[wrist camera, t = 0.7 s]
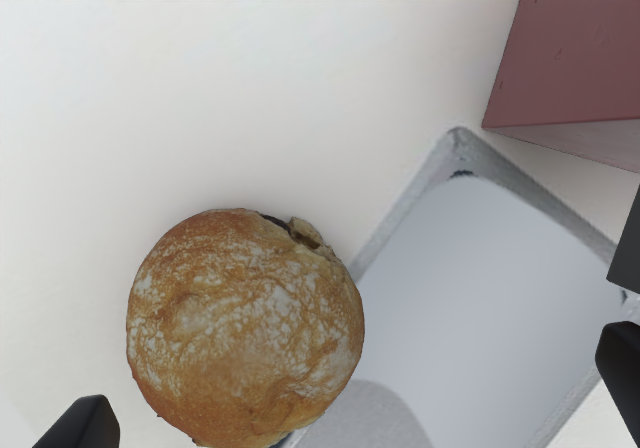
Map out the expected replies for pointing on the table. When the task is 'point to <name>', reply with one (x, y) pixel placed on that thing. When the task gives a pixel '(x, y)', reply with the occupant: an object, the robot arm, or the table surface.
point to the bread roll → (242, 328)
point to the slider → (628, 252)
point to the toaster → (572, 80)
